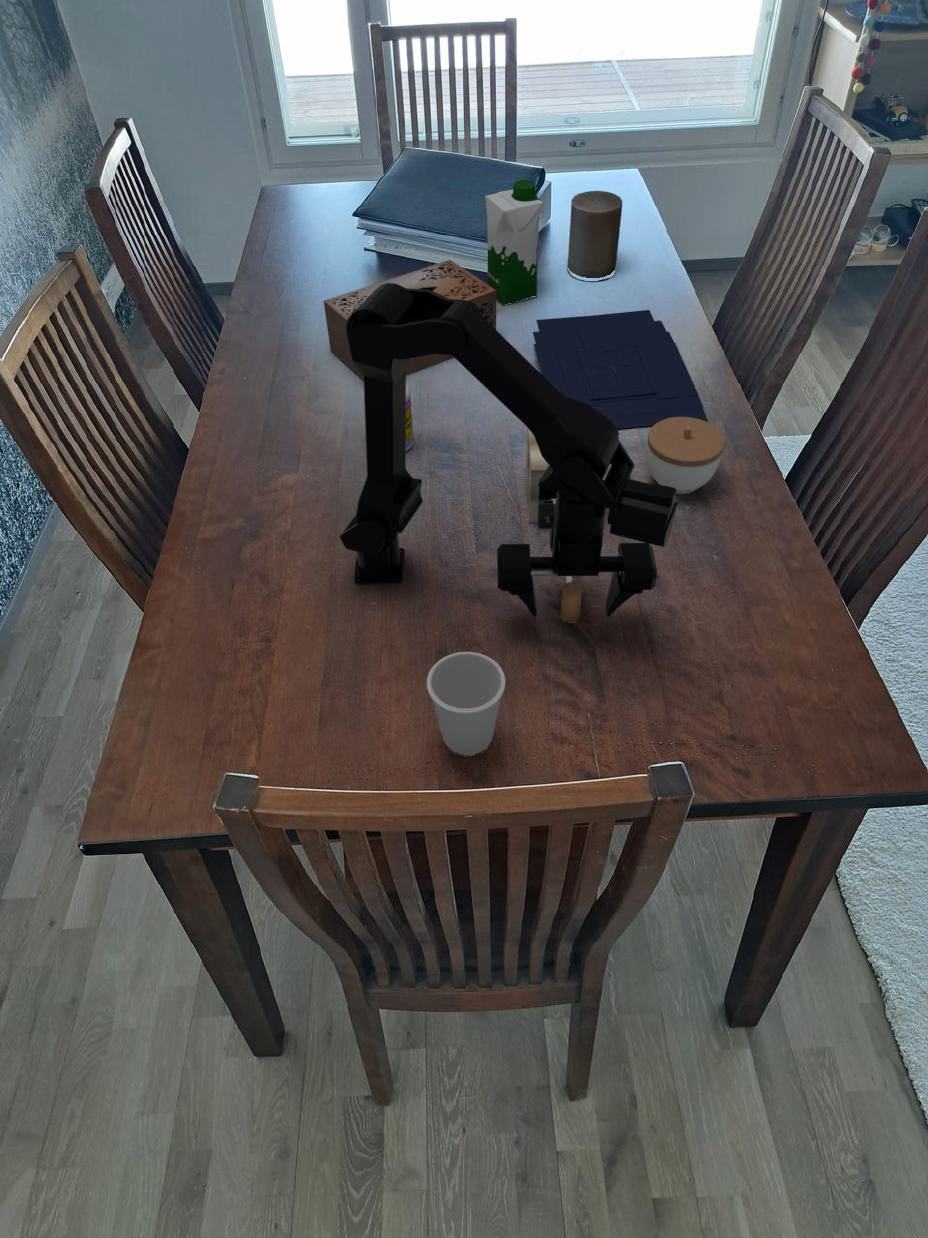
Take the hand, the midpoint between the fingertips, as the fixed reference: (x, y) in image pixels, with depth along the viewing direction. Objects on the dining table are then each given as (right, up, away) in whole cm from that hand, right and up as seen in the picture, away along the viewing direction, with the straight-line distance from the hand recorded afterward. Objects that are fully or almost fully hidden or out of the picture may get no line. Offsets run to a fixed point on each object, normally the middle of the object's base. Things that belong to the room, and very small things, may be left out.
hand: (570, 614), depth 115 cm
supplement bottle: (-25, +27, +27) cm, 45 cm away
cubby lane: (0, +17, +17) cm, 24 cm away
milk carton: (-4, +62, +60) cm, 86 cm away
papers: (+11, +40, +39) cm, 57 cm away
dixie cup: (-13, -14, -11) cm, 22 cm away
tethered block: (0, +6, +7) cm, 9 cm away
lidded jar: (+18, +20, +20) cm, 33 cm away
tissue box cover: (-22, +48, +47) cm, 71 cm away
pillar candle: (+12, +68, +66) cm, 96 cm away
